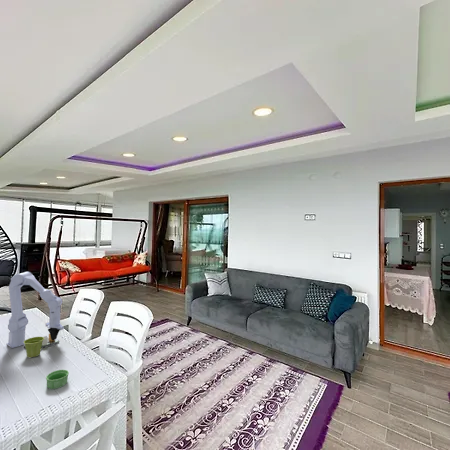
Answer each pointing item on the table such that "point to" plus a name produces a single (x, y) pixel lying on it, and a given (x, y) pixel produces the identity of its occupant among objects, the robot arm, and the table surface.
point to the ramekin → (57, 379)
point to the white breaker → (45, 340)
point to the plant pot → (33, 346)
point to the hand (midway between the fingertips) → (54, 339)
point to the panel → (48, 343)
